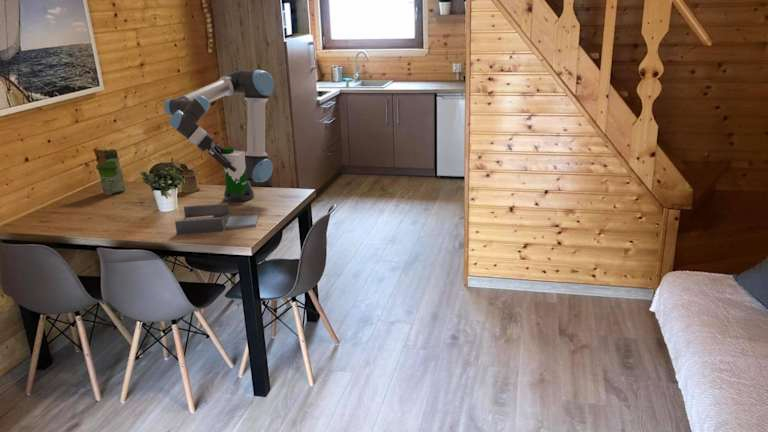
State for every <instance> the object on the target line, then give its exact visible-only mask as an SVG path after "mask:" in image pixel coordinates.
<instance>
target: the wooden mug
mask: <svg viewBox="0 0 768 432" xmlns="http://www.w3.org/2000/svg"><path fill="white" fill-rule="evenodd" d="M170 164H171V165H172V166H173V167H174V168H175V169H176V170H179V171H180V172H181V176H182V175H183V176H184V178H185V183H183V184H182V183H181V185H182V187H181V192H183V194H184V193H185V194H190V193H196V192H199V191H200V186H199V183H198V180H197V177H196V175H197V174H196V172H195V171H194V169H193V168H192V169H185V170H184V169H183V168H182V165H181V163H180V161H178V159H175V158H172V157H171V159H170Z"/></svg>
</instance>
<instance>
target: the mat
mask: <svg viewBox="0 0 768 432" xmlns="http://www.w3.org/2000/svg"><path fill="white" fill-rule="evenodd" d="M258 219H259V215H258V214H255V215H253V214H252V215H251V214H250V215H240V216H239V215H238V216H229V217H228V220H227V223H226V225H225V228H226V229H237V228H251V227H257V224H258V223H257V222H258Z"/></svg>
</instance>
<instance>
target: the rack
mask: <svg viewBox="0 0 768 432" xmlns="http://www.w3.org/2000/svg"><path fill="white" fill-rule="evenodd" d="M183 211H184V212H183V213H184V218H183V219H180V220H175V221H174V224H175V230H176V235H178V236H179V235H191V234H204V233H218V232H224V231H225V228H226V226H227V223H228V220H229V217H230V213H229V211H230V210H229V204H228V202H226V203H214V204H213V203H212V204H211V203H210V204H201V205H200V204H199V205H184V206H183ZM212 215H213V217H214V218H207V219H193V220H185V219H186V218H190V217H201V216H212Z"/></svg>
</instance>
